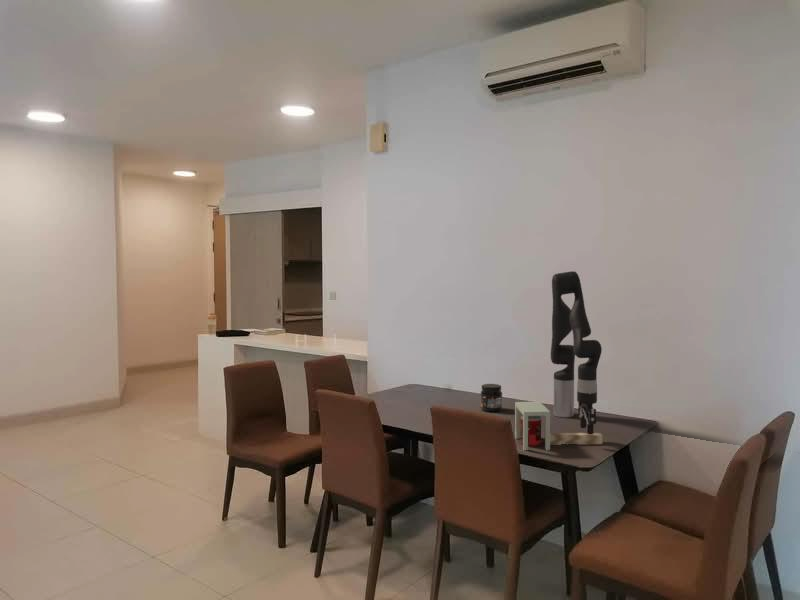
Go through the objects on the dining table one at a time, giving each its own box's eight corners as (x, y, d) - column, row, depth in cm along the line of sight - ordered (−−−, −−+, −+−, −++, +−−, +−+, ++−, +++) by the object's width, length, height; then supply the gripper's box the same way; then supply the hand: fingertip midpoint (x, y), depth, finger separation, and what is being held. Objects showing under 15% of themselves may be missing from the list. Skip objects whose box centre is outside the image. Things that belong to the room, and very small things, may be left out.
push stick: (546, 445, 228) (546, 435, 228) (544, 443, 231) (544, 433, 231) (602, 444, 229) (602, 434, 228) (599, 442, 232) (599, 432, 231)
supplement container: (482, 406, 290) (482, 382, 289) (503, 408, 287) (503, 384, 286) (478, 411, 280) (478, 387, 279) (500, 413, 277) (500, 388, 276)
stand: (515, 437, 238) (515, 401, 237) (539, 437, 238) (539, 401, 237) (523, 450, 222) (524, 412, 221) (549, 450, 222) (550, 411, 221)
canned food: (518, 441, 233) (518, 414, 232) (537, 440, 234) (537, 413, 233) (523, 447, 225) (523, 419, 225) (543, 446, 226) (543, 418, 225)
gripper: (572, 386, 236) (571, 426, 236) (583, 394, 221) (583, 436, 222) (590, 386, 236) (590, 426, 236) (602, 394, 221) (602, 435, 222)
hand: (586, 430), depth 229 cm, fingers open, 8 cm apart
